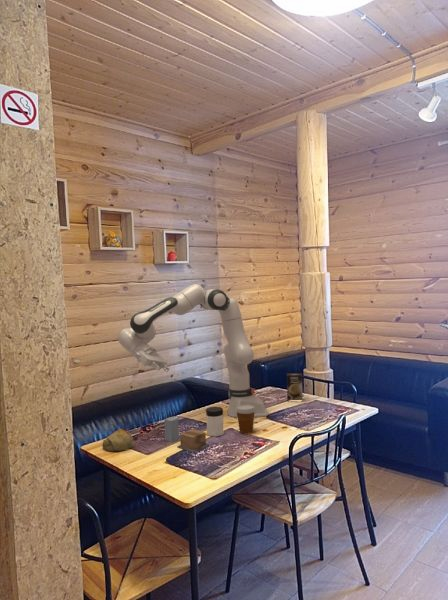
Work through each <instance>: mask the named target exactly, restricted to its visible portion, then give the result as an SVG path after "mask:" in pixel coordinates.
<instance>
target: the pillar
mask: <svg viewBox="0 0 448 600" xmlns="http://www.w3.org/2000/svg"><path fill="white" fill-rule="evenodd" d="M179 424H180V423H179V418H177V417H174V416H170V417H167V418H164V436H165V437H164V438H165V439H164V440H165V441H166V442H169V443H174V442H178V441H180V430H179V429H180V428H179V427H180V426H179Z"/></svg>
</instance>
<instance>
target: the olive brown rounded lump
mask: <svg viewBox="0 0 448 600" xmlns="http://www.w3.org/2000/svg"><path fill="white" fill-rule="evenodd" d="M134 440H135V439H134V437H133V436H132V434H131V433H130V431H129V430H126V429H124V428H119V429H117V430H116V431H114V432H113V433H111V434H110V435H108V436H106V438H105V439H103V441H102V448H103V449H104V450H106V451H108V452H121V451H122V452H123V451H128V450H130V449H133V448H135V445H136V443H135V441H134Z"/></svg>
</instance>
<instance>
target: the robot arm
mask: <svg viewBox="0 0 448 600" xmlns="http://www.w3.org/2000/svg"><path fill="white" fill-rule="evenodd" d="M198 305H199V306H201V307H202V308H203V309H205V310H209V311H218V313H219V316H220V320H221V325H222V331H223V335H224V337H225V338H226V341H227V343H226V344H225V345H224V347H223V354H224V357H225V362H226V367H227V371H228V382H229V383H228V384H229V388H228V399H229V402H228V403H229V404H228V409H227V416H230V417H233V418H237V419H238V417H237V412H236V408H237V406H239V405H253V406H254V408H255V412H254V418H261V417H267V416H268V415H269V414H270V412H269V410H268V408H266V407H265V404H264V401H263V400H262V399H261V398H259V397H258V396H256V395H255V393H256V391H255V389H254V388H253V387H251V386H250V384H251V383H250V372H249V369H248V367H247V365H249V364H251V363H252V362H253V360H254V359H255V352H254V350H253V348H252V347H251V344H250V341H249V340H248V337H247V334H246V331H245V328H244V323H243V318H242V313H241V310H240V307H239V303H238V302H237V300H236V299H235V298H232V297H228V295H227V294H226V293H225V292H224V291H223V290H222V289H216V288H210V289H204V288H203V286H201V285H200V284H198V283H193V284H191V285H189V286H187V287H185V288H184V289H182V290H181V291H179V292H178V293H176V294H175V295H173V296H170V297H167V298H164V299H162V300H160V301H159V302H158V303H156V304H154V305H153V306H151V307H149V308H147V309H145V310H143V311H139V312H137V313H135V314H134V315H132V317H131V319H130V321H129V326H130V327H129V328H127V327H126V328H123V329H122V330H121V331H120V332H119V334H118V337H117V338H118V339H117V341H118V342H119V345H121V347H123V349H124V350H126V351H127V352H129V353H131V355H132V357H134V358H135V359H136V360H137V361H139V363H142V364H143V365H144V366H146V367H151V368H153V369H155V370H156V371H160V370H161V369H163V371H164V372H166V373H167V372H169V370H170V368H169V367H168V366H167V363H168V362H167V361H166V359H165V358H164V357H162V355H160V354H159V353H158V351H157V350H156V349H155V348H153V347H152V346H150V345H149V343H150V342H151V341H152V340H154V339H155V337H156V334H157V331H156V329H155V325H154V324H153V323H154V321H156V320H158V318H160V317H162V316H164V315H165V314H167V313H173V314H175V315H176V316H183V315H186V314H188V313H189V312H190V311H192V310H193V309H195V308H196V307H197V306H198Z"/></svg>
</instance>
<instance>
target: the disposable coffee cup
mask: <svg viewBox="0 0 448 600" xmlns="http://www.w3.org/2000/svg"><path fill="white" fill-rule="evenodd" d="M236 412H237V417H238V418H237V417H236V418H237V423H238V428H239V432H240V433H241V434H246V435H247V434H251V433H253V431H254V421H255V417H254V412H255V408H254V406H253V405H239V406H237V408H236Z"/></svg>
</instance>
